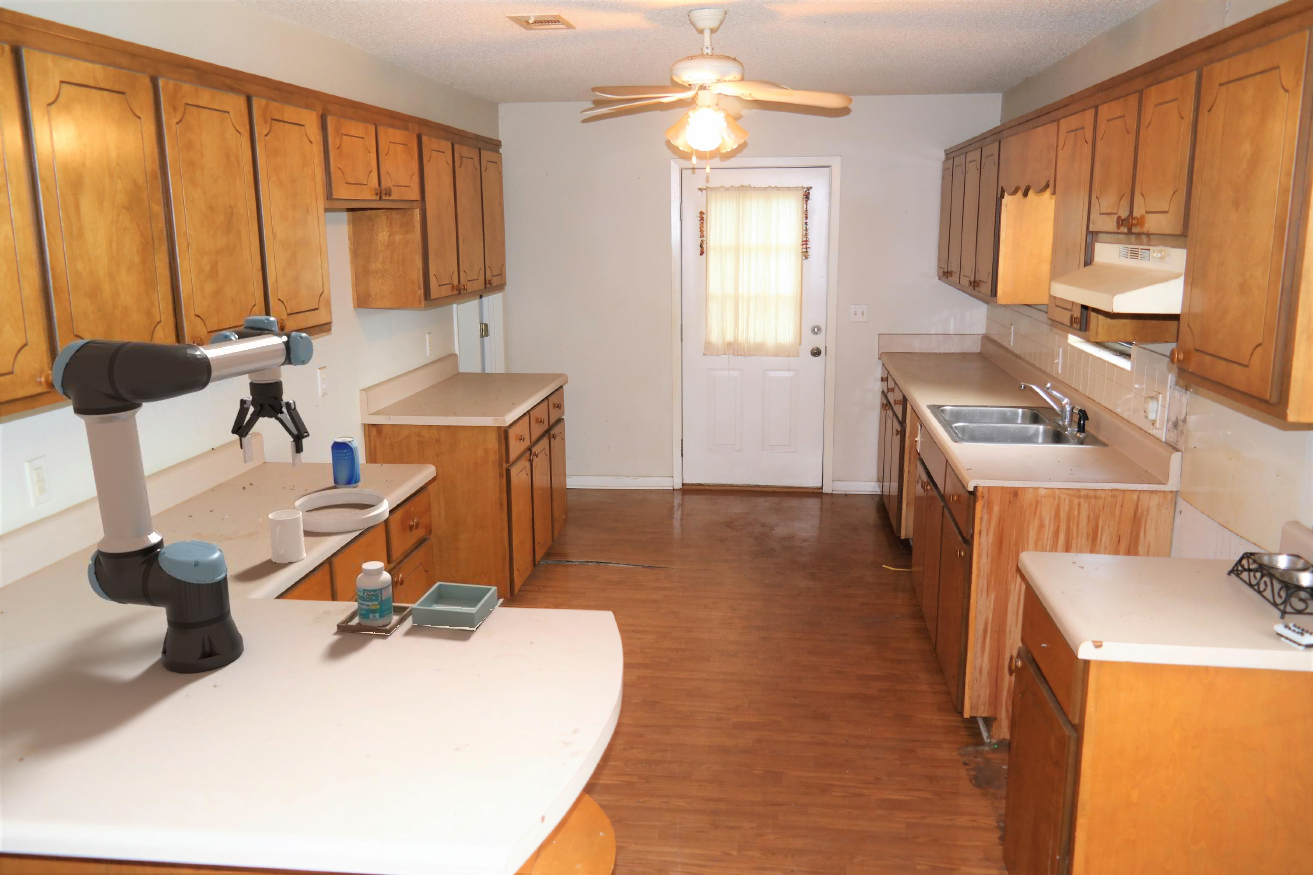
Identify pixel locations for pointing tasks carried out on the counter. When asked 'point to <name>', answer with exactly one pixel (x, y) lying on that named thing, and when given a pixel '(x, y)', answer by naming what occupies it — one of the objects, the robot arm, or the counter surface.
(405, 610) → the frame
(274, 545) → the mug
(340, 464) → the beer can
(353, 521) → the white hollow ring
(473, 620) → the bin
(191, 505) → the counter surface
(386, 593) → the pill bottle
